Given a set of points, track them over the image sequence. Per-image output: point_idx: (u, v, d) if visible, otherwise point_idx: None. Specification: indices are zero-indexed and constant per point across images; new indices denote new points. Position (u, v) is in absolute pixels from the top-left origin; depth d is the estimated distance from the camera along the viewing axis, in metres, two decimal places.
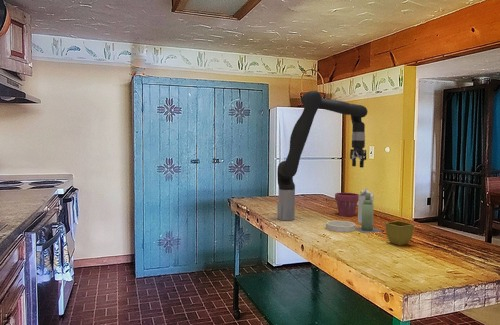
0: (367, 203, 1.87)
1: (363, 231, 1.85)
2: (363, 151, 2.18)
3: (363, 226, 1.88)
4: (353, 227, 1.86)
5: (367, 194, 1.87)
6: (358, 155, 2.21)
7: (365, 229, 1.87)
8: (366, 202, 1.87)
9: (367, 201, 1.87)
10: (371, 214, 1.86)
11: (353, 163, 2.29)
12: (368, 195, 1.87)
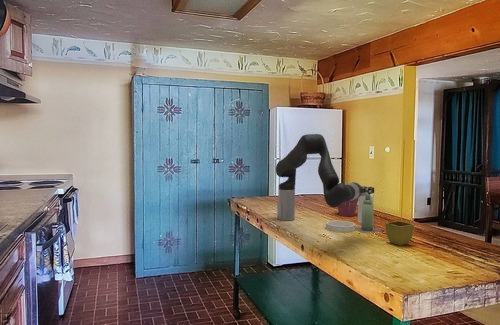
0: (367, 203, 1.87)
1: (363, 231, 1.85)
2: None
3: (363, 226, 1.88)
4: (353, 227, 1.86)
5: (367, 194, 1.87)
6: None
7: (365, 229, 1.87)
8: (366, 202, 1.87)
9: (367, 201, 1.87)
10: (371, 214, 1.86)
11: None
12: (368, 195, 1.87)
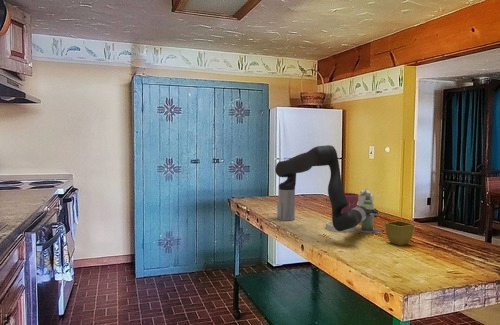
0: (367, 203, 1.87)
1: (363, 231, 1.85)
2: None
3: (363, 226, 1.88)
4: (353, 227, 1.86)
5: (367, 194, 1.87)
6: None
7: (365, 229, 1.87)
8: (366, 202, 1.87)
9: (367, 201, 1.87)
10: None
11: None
12: (368, 195, 1.87)
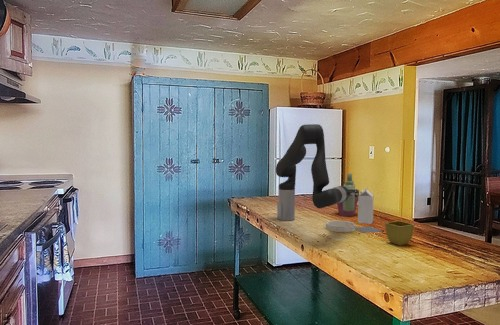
0: (349, 183, 1.88)
1: (363, 231, 1.85)
2: None
3: (344, 206, 1.89)
4: (353, 227, 1.86)
5: (349, 175, 1.89)
6: None
7: (346, 209, 1.88)
8: (348, 182, 1.88)
9: (349, 181, 1.88)
10: None
11: None
12: (350, 176, 1.89)
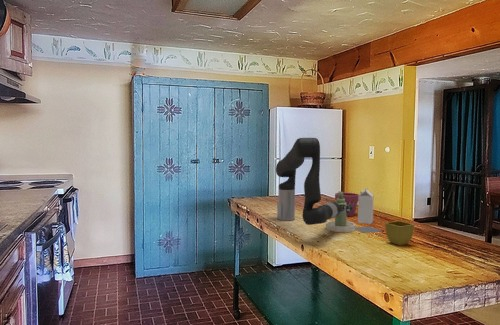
0: (340, 202, 1.88)
1: (363, 231, 1.85)
2: None
3: (336, 224, 1.89)
4: (353, 227, 1.86)
5: (340, 193, 1.89)
6: None
7: None
8: (339, 201, 1.88)
9: (340, 200, 1.88)
10: (344, 212, 1.88)
11: None
12: (341, 194, 1.89)
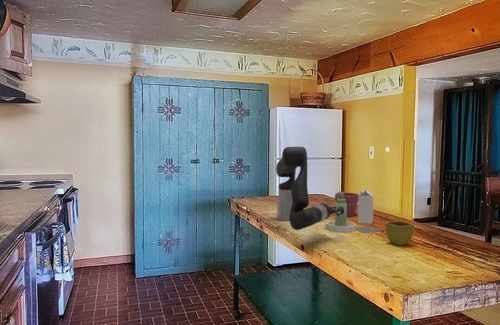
0: (340, 202, 1.88)
1: (363, 231, 1.85)
2: None
3: (336, 224, 1.89)
4: (353, 227, 1.86)
5: (340, 193, 1.89)
6: None
7: None
8: (339, 201, 1.89)
9: (340, 200, 1.88)
10: (344, 212, 1.88)
11: None
12: (341, 194, 1.89)
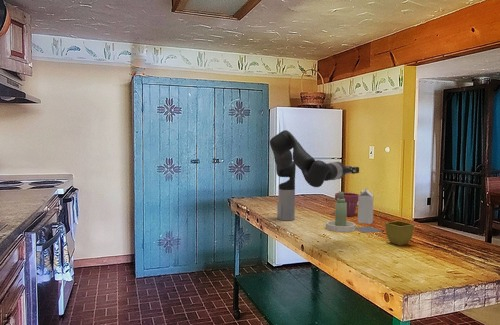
0: (340, 202, 1.88)
1: (363, 231, 1.85)
2: None
3: (336, 224, 1.89)
4: (353, 227, 1.86)
5: (340, 193, 1.89)
6: None
7: None
8: (339, 201, 1.89)
9: (340, 200, 1.88)
10: (344, 212, 1.88)
11: None
12: (341, 194, 1.89)
